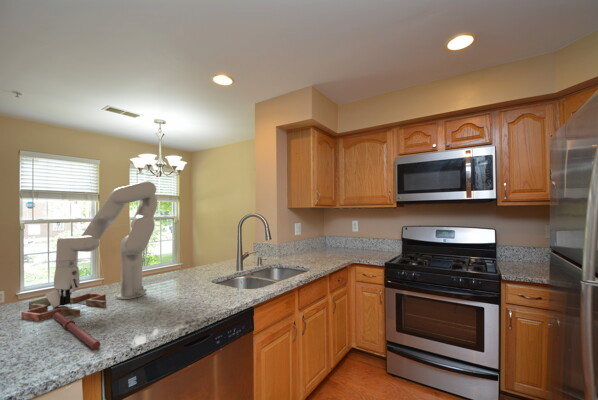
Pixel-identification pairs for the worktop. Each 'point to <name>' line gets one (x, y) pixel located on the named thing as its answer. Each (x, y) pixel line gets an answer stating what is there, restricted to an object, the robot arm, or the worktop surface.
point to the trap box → (40, 307)
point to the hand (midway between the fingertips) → (64, 304)
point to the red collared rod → (77, 331)
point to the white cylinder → (54, 298)
